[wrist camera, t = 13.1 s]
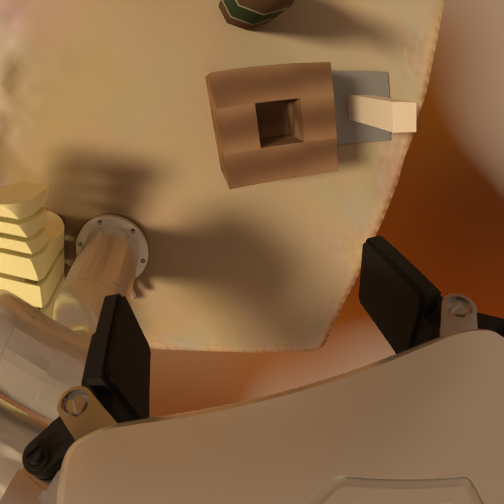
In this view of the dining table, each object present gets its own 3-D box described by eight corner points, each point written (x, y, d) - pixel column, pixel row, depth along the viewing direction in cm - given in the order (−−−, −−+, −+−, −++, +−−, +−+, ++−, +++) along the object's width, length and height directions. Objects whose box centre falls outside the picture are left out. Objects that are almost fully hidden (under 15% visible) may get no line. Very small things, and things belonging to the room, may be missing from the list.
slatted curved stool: (71, 316, 53) (49, 388, 38) (5, 301, 48) (-28, 364, 33) (75, 164, 40) (23, 208, 25) (-6, 153, 35) (-72, 192, 20)
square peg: (370, 118, 45) (416, 131, 35) (349, 119, 44) (392, 132, 34) (369, 94, 43) (416, 102, 32) (347, 95, 42) (392, 101, 32)
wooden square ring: (310, 153, 47) (338, 170, 38) (220, 168, 45) (229, 189, 37) (301, 65, 39) (330, 62, 31) (205, 76, 38) (210, 72, 29)
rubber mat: (388, 139, 48) (390, 140, 47) (327, 145, 46) (328, 145, 46) (385, 72, 41) (387, 72, 41) (320, 71, 40) (322, 71, 40)
